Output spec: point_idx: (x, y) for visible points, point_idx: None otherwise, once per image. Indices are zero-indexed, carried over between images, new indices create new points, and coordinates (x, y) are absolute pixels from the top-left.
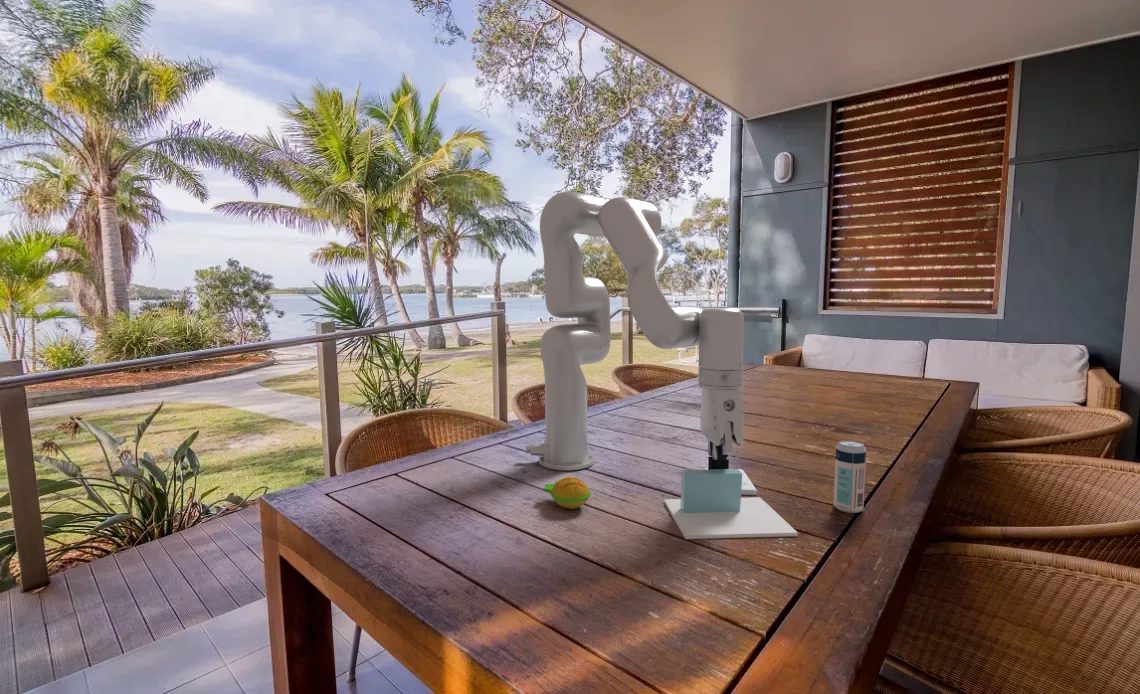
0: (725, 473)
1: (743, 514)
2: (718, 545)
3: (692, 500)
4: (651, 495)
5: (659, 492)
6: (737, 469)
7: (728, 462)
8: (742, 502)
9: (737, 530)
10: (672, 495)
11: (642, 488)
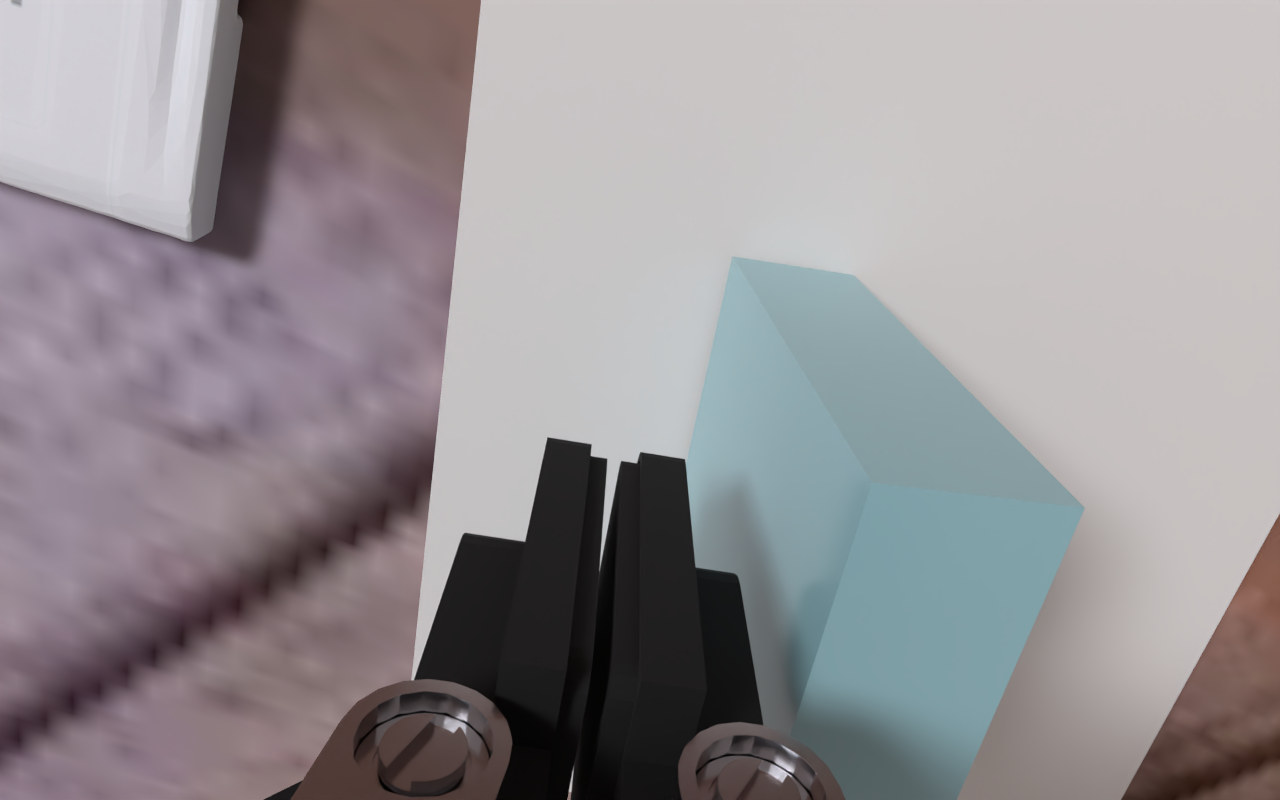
0: (961, 745)
1: (934, 281)
2: (1262, 699)
3: None
4: (230, 777)
5: (158, 702)
6: (891, 503)
7: (697, 636)
8: (631, 104)
9: (1207, 516)
10: (242, 633)
11: (52, 788)
